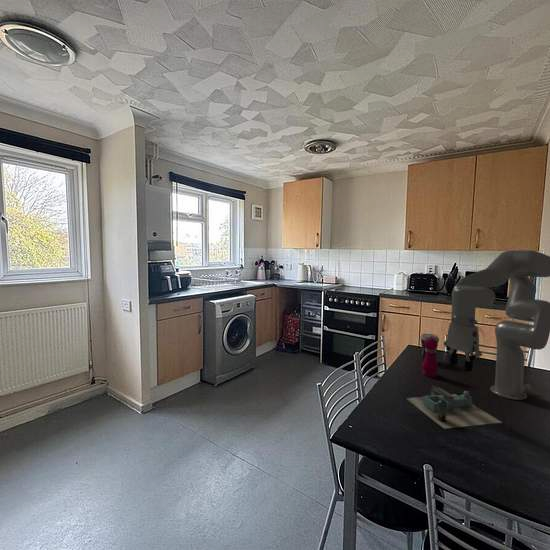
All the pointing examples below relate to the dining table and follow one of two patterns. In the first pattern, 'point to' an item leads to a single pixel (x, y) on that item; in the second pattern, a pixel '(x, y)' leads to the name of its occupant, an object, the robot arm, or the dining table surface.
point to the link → (448, 401)
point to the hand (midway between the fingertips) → (460, 367)
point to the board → (454, 412)
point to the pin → (442, 410)
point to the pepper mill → (430, 358)
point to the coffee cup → (423, 338)
